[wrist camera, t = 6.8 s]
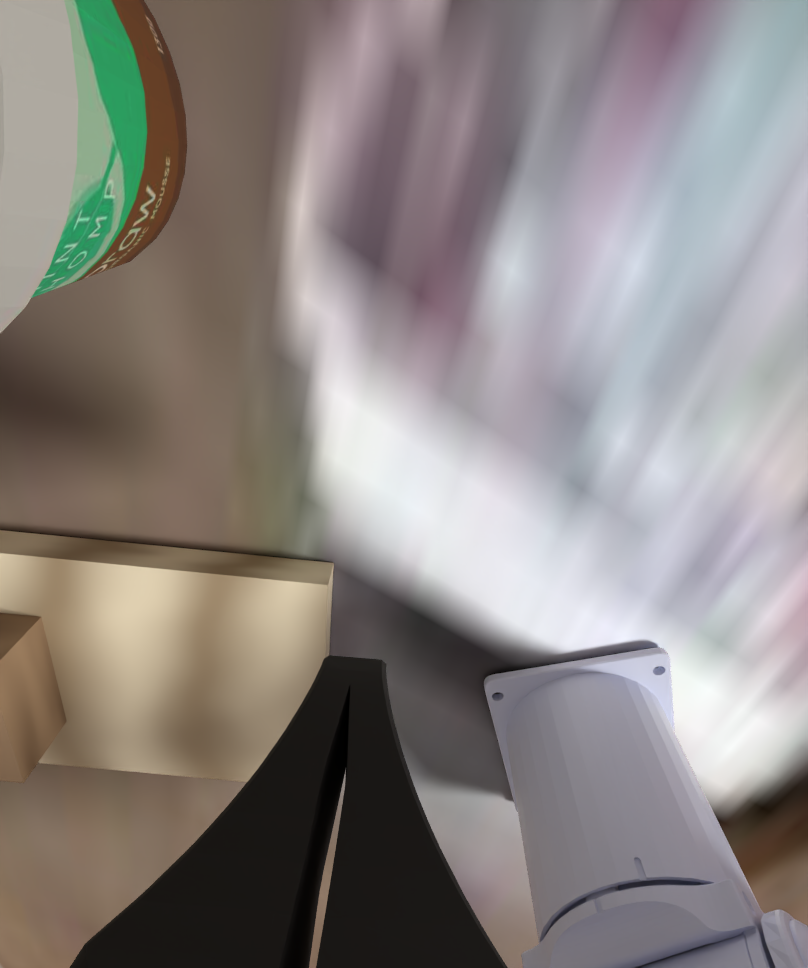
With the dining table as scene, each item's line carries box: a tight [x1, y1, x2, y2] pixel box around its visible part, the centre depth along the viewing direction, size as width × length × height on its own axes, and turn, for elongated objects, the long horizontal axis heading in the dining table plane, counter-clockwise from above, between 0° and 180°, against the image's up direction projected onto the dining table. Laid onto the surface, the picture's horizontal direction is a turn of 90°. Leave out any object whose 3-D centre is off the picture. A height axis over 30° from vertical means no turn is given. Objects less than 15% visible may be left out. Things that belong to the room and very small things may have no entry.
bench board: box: [0, 530, 334, 782], centre depth 24 cm, size 22×12×2 cm, turn 84°
